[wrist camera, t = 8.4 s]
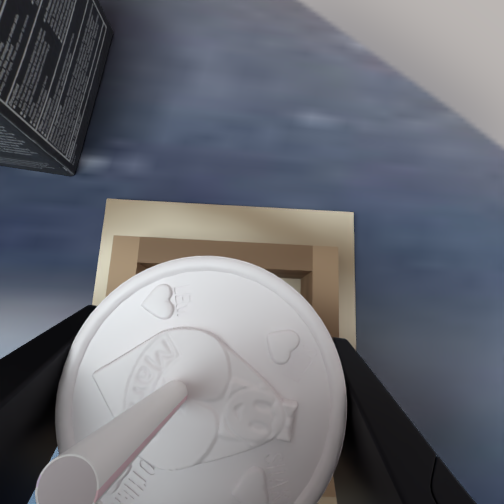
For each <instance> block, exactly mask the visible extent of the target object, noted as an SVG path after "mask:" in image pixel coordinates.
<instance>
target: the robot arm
mask: <svg viewBox="0 0 504 504" xmlns="http://www.w3.org/2000/svg"><path fill="white" fill-rule="evenodd" d="M96 307H97V306H96V305H88V306H86V307H84V308H83V309H81V310H80V311H78V312H76V313H75V314H73V315H71V316H70V317H68V318H67V319H65V320H63V321H62V322H60V323H58V324H57V325H55V326H54V327H52V328H50V329H49V330H47V331H45V332H44V333H42V334H40V335H39V336H37V337H36V338H34V339H32V340H31V341H29V342H27V343H26V344H24V345H23V346H21V347H19V348H18V349H16V350H14V351H13V352H11V353H10V354H8V355H6V356H5V357H3V358H1V359H0V504H27V503H28V502H29V500H30V498H31V496H32V494H33V492H34V490H35V488H36V484H37V480H38V478H39V476H40V474H41V472H42V470H43V469H44V468H45V466H46V465H47V464H48V463H49V461H50V459H51V457H52V455H53V453H54V451H55V449H56V448H57V446H58V445H57V439H56V428H55V407H56V397H57V390H58V385H59V381H60V378H61V375H62V371H63V367H64V364H65V361H66V359H67V356H68V354H69V351H70V348H71V345H72V343H73V341H74V339H75V337H76V335H77V334H78V332H79V330H80V329H81V327H82V325H83V324H84V323H85V321H86V320H87V318H88V317H89V316H90V314H91V313H92V312H93V311H94V309H95V308H96ZM332 340H333V342H334V344H335V347H336V350H337V352H338V355H339V358H340V362H341V365H342V369H343V373H344V379H345V385H346V396H347V420H346V430H345V436H344V441H343V446H342V450H341V454H340V457H339V460H338V464H337V466H336V469H335V471H334V474H333V478H334V485H335V492H336V499H337V504H477V503H476V502H475V501H474V500H473V499H472V498H471V496H470V495H469V494H468V493H467V491H466V490H465V489H464V488H463V487H462V485H461V484H460V483H459V482H458V480H457V479H456V478H455V477H454V475H453V474H452V473H451V472H450V470H449V469H448V468H447V467H446V465H445V464H444V463H443V461H442V460H441V459H440V458H439V457H438V456H437V457H436V453H435V451H434V450H433V449H432V448H431V446H430V445H429V444H428V442H427V441H426V440H425V439H424V437H423V436H422V435H421V433H420V432H419V431H418V430H417V428H416V427H415V426H414V424H413V423H412V422H411V421H410V419H409V418H408V417H407V415H406V414H405V413H404V412H403V410H402V409H401V408H400V406H399V405H398V404H397V403H396V401H395V400H394V399H393V397H392V396H391V395H390V394H389V392H388V391H387V390H386V389H385V387H384V386H383V385H382V383H381V382H380V381H379V380H378V378H377V377H376V376H375V374H374V373H373V372H372V371H371V369H370V368H369V367H368V365H367V364H366V363H365V362H364V360H363V359H362V358H361V356H360V355H359V354H358V353H357V351H356V350H355V349H354V347H353V346H352V345H351V344H350V342H349V341H348V340H347V339H345V338H338V337H332Z"/></svg>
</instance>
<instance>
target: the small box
mask: <svg viewBox="0 0 504 504" xmlns="http://www.w3.org/2000/svg"><path fill="white" fill-rule="evenodd" d="M112 35H113V30H112V28H111V26H110V24H109V22H108V20H107V18H106V16H105V13H104V12H103V9H102V7H101V6H100V4H99V1H98V0H0V166H7V167H13V168H20V169H26V170H33V171H40V172H46V173H52V174H59V175H65V176H72V175H74V174H75V171H76V168H77V164H78V161H79V157H80V154H81V150H82V146H83V142H84V139H85V135H86V131H87V128H88V124H89V120H90V117H91V113H92V110H93V106H94V102H95V98H96V95H97V91H98V87H99V84H100V80H101V76H102V73H103V69H104V65H105V62H106V58H107V54H108V50H109V46H110V43H111V39H112Z"/></svg>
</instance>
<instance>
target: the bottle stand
mask: <svg viewBox="0 0 504 504" xmlns="http://www.w3.org/2000/svg"><path fill="white" fill-rule="evenodd" d="M193 256H219V257H227V258H232V259H237V260H241V261H244V262H248V263H251V264H253V265H256V266H258V267H261V268H263V269H265V270H267V271H269V272H271V273H273V274H274V275H276V276H278V277H279V278H281V279H282V280H284V281H285V282H286V283H288V284H289V285H290V286H292V287H293V288H294V289H295V290H296V291H297V292H298V293H299V294H301V295H302V296H303V297H304V298H305V299H306V301H307V302H308V303H309V304H310V305H311V306H312V307H313V309H314V310H315V311H316V313H317V314H318V316H319V317H320V318H321V320H322V321H323V323H324V325H325V326H326V328H327V330H328V332H329V334H330V336H331V338H332V337H338V338H345V339H347V340H348V341H349V342H350V344H351V345H352V346H353V347H354V349H355V350H356V316H355V263H354V212H339V211H321V210H302V209H284V208H266V207H248V206H230V205H212V204H194V203H176V202H158V201H140V200H122V199H107V202H106V209H105V217H104V224H103V231H102V238H101V245H100V252H99V260H98V267H97V274H96V281H95V288H94V295H93V303H92V305H96V306H98V305H99V304H100V303H101V302H102V301H103V300H104V299H105V298H106V297H107V296H108V295H109V294H110V293H111V292H112V291H113V290H115V289H116V288H117V287H118V286H120V285H121V284H122V283H124V282H125V281H127V280H128V279H130V278H131V277H133V276H135V275H136V274H138V273H140V272H142V271H144V270H146V269H148V268H151V267H153V266H155V265H158V264H161V263H164V262H167V261H170V260H175V259H179V258H184V257H193ZM317 504H337V499H336V492H335V485H334V478H333V476H332V478H331V480H330V482H329V484H328V486H327V488H326V490H325V492H324V494H323V495H322V497H321V498H320V500H319V501H318V503H317Z"/></svg>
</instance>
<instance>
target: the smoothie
mask: <svg viewBox="0 0 504 504" xmlns="http://www.w3.org/2000/svg"><path fill="white" fill-rule="evenodd" d="M346 420H347V396H346V385H345V379H344V373H343V369H342V365H341V362H340V358H339V355H338V352H337V350H336V347H335V344H334V342H333V340H332V338H331V336H330V334H329V332H328V330H327V328H326V326H325V325H324V323H323V321H322V320H321V318H320V317H319V316H318V314H317V313H316V311H315V310H314V309H313V307H312V306H311V305H310V304H309V303H308V302H307V301H306V299H305V298H304V297H303V296H302V295H301V294H299V293H298V292H297V291H296V290H295V289H294V288H293V287H292V286H290V285H289V284H288V283H286V282H285V281H284V280H282V279H281V278H279V277H278V276H276V275H274V274H273V273H271V272H269V271H267V270H265V269H263V268H261V267H258V266H256V265H253V264H251V263H248V262H244V261H241V260H237V259H232V258H227V257H219V256H193V257H184V258H179V259H175V260H170V261H167V262H164V263H161V264H158V265H155V266H153V267H151V268H148V269H146V270H144V271H142V272H140V273H138V274H136V275H135V276H133V277H131V278H130V279H128V280H127V281H125V282H124V283H122V284H121V285H120V286H118V287H117V288H116V289H115V290H113V291H112V292H111V293H110V294H109V295H108V296H107V297H106V298H105V299H104V300H103V301H102V302H101V303H100V304H99V305H98V306H97V307H96V308H95V309H94V311H93V312H92V313H91V314H90V316H89V317H88V318H87V320H86V321H85V323H84V324H83V325H82V327H81V329H80V330H79V332H78V334H77V335H76V337H75V339H74V341H73V343H72V345H71V348H70V351H69V354H68V356H67V359H66V361H65V364H64V367H63V371H62V375H61V378H60V381H59V385H58V390H57V397H56V407H55V428H56V439H57V445H58V451H59V456H58V457H56V458H55V459H53V460H52V461H51V462H49V463H48V464H47V465H46V466H45V468H44V469H43V470H42V472H41V474H40V476H39V478H38V480H37V484H36V490H35V497H36V503H37V504H317V503H318V501H319V500H320V498H321V497H322V495H323V494H324V492H325V490H326V488H327V486H328V484H329V482H330V480H331V478H332V476H333V474H334V471H335V469H336V466H337V464H338V460H339V457H340V454H341V450H342V446H343V441H344V436H345V430H346Z"/></svg>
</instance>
